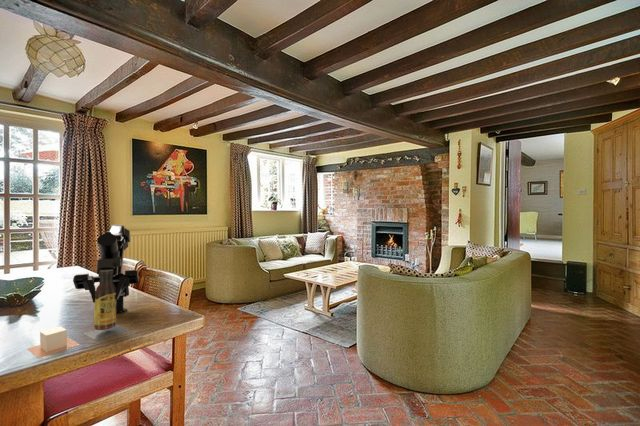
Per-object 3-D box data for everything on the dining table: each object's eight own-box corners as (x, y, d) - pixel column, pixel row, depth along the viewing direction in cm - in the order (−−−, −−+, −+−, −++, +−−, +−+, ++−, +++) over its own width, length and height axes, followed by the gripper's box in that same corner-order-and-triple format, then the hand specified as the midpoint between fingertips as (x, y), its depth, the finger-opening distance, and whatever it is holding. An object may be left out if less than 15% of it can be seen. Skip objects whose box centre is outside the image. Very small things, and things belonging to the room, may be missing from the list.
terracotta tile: (26, 350, 94) (26, 348, 94) (67, 338, 102) (67, 336, 102) (38, 360, 88) (38, 357, 88) (80, 346, 97) (80, 344, 97)
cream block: (40, 347, 94) (40, 331, 94) (60, 341, 98) (60, 326, 98) (46, 352, 92) (45, 335, 91) (67, 345, 96) (66, 329, 96)
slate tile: (83, 335, 105) (83, 333, 105) (115, 325, 113) (115, 323, 113) (96, 342, 99) (96, 340, 99) (129, 331, 108) (129, 330, 108)
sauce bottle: (100, 332, 102) (99, 273, 101) (90, 328, 105) (89, 270, 104) (120, 325, 108) (120, 269, 107) (110, 322, 111) (109, 267, 110)
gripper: (73, 251, 105) (65, 292, 95) (137, 247, 113) (135, 285, 104) (79, 269, 112) (72, 309, 103) (139, 264, 120) (137, 301, 111)
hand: (105, 300), depth 105 cm, fingers closed on sauce bottle, 6 cm apart
